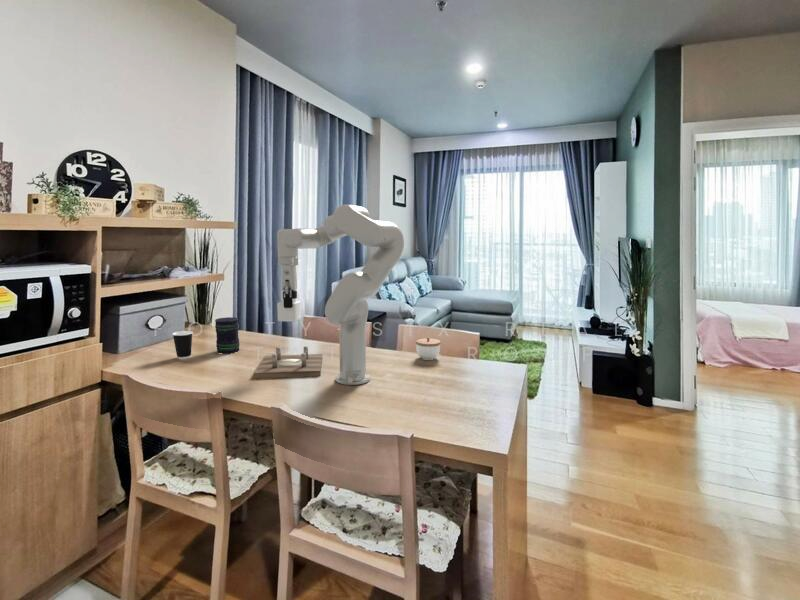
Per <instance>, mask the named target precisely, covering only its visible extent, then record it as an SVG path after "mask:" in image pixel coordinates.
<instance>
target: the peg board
mask: <svg viewBox="0 0 800 600" xmlns="http://www.w3.org/2000/svg"><path fill="white" fill-rule="evenodd" d="M281 348H282V347H281V346H277V347H276V348H275V354H274V353H273V354H271V355H264V357H263V358H262V360H261V361H260V363H259V364H258V366H257V368H256V369H255V371H254V373H253V378H254V379H271V378H272V379H273V378H277V379H278V378H296V377H299V378H301V377H321V374H322V366H323V365H322V364H323V353H313V354H312V353H310V354H309V346H307V345H306V346H303V353H301V354H282V352H281V351H282V349H281Z"/></svg>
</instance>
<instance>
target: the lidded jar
mask: <svg viewBox="0 0 800 600" xmlns="http://www.w3.org/2000/svg"><path fill="white" fill-rule="evenodd" d="M441 343H442V342H441V340H440V339H437V338H436V339H435V338H430V337H429V336H427V338H419V339H417V340H415V347H416V352H417V353H416V354H417V355H418V357H420V359H421V360H425V361H433V359H434V360H436V358H437V357H438V356H439V354H440V351H441Z"/></svg>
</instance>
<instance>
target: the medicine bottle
mask: <svg viewBox="0 0 800 600" xmlns="http://www.w3.org/2000/svg"><path fill="white" fill-rule="evenodd" d="M280 299H281V301H280V302H277V304H276V305H277V322H291V323H292V322H297V321H299V320H301V319H302V302H301V300H298V291H297V289H296V290H295V291H293V290H292V305H293V307H292V308H284V291H283V290H282V289H281V291H280Z"/></svg>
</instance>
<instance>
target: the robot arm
mask: <svg viewBox="0 0 800 600" xmlns="http://www.w3.org/2000/svg"><path fill="white" fill-rule="evenodd" d="M276 235H277V236H276V237H277V265H278V266H280V267H281V269H280V270H281V273H280V274H281V291H282V290H283V291H284V308H292V307H293V305H292V290H293V291H295V290H296V291H297V289H298V281H297V280H298V279H297V266H299V250H300V249H301V250H302V249H303V250H304V249H310V250H311V249H318V248H322V247H324V246H327V245H331V244H332V243H334V242H336V240H338V239H341V238H344V237H346V236H349V238H352V239H353V240H354V241H356V242H358V243H360V244H361V245H363V246H365V247H370V248H376V247H377V250H376V251H375V252H374V253H373V254H372V255H371V256H370V257H369V258H368V260H367V262H366V263H365V265H364V267H363V268H362V269H361V270H359V271H352V272H349V273H346V274H345V275H343V276H342V277H341V279H340V280H339V282H338V283H337V285H336V286H335V288H334V290H333V291H332V293H331V294H330V296H329V298H328V299H327V302H326V304H325V306H324V316H325V318H326V320H327V321H328V322H329V323H330V324H333V325H337V326H338V325H340V327H339V373H338V374H337V375H336V376H335V382H337V383H338V384H341V385H346V386H355V385H356V386H357V385H363V384H366V383H368V382H369V381H370V379H371V375H370V374H369V373H367V368H366V367H367V321H368V316H369V304H368V303H369V302H368V301H367V299H369V298H373V297H374V296H376V294H378V292H379V290H380V289H381V287H382V286H383V284H384V282H385V281H386V280H387V278H388V276H389V275H390V273H391V272H392V270H393V269H394V267H395V266H396V265H397V264H398V262H399V260H400V258H401V256H402V253H403V251H404V246H405V239H404V235H403V232H402V230H401V229H400V228H399V226H398V225H397V224H395V223H393V222H391V221H387V220H386V221H385V220H374V219H371V214H370V212H369V211H368V209H367V208H365V207H363V206H360V205H353V204H341V205H339V206H338V207H336V208H335V209H334V211H333V214H331V215H328V216H326V217H325V219H324V220H323V225H322V226H319V227H315V228H301V227H300V228H291V229H289V228H287V229H286V228H282V229H281V228H280V229H279V230H278V231H277V234H276Z"/></svg>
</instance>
